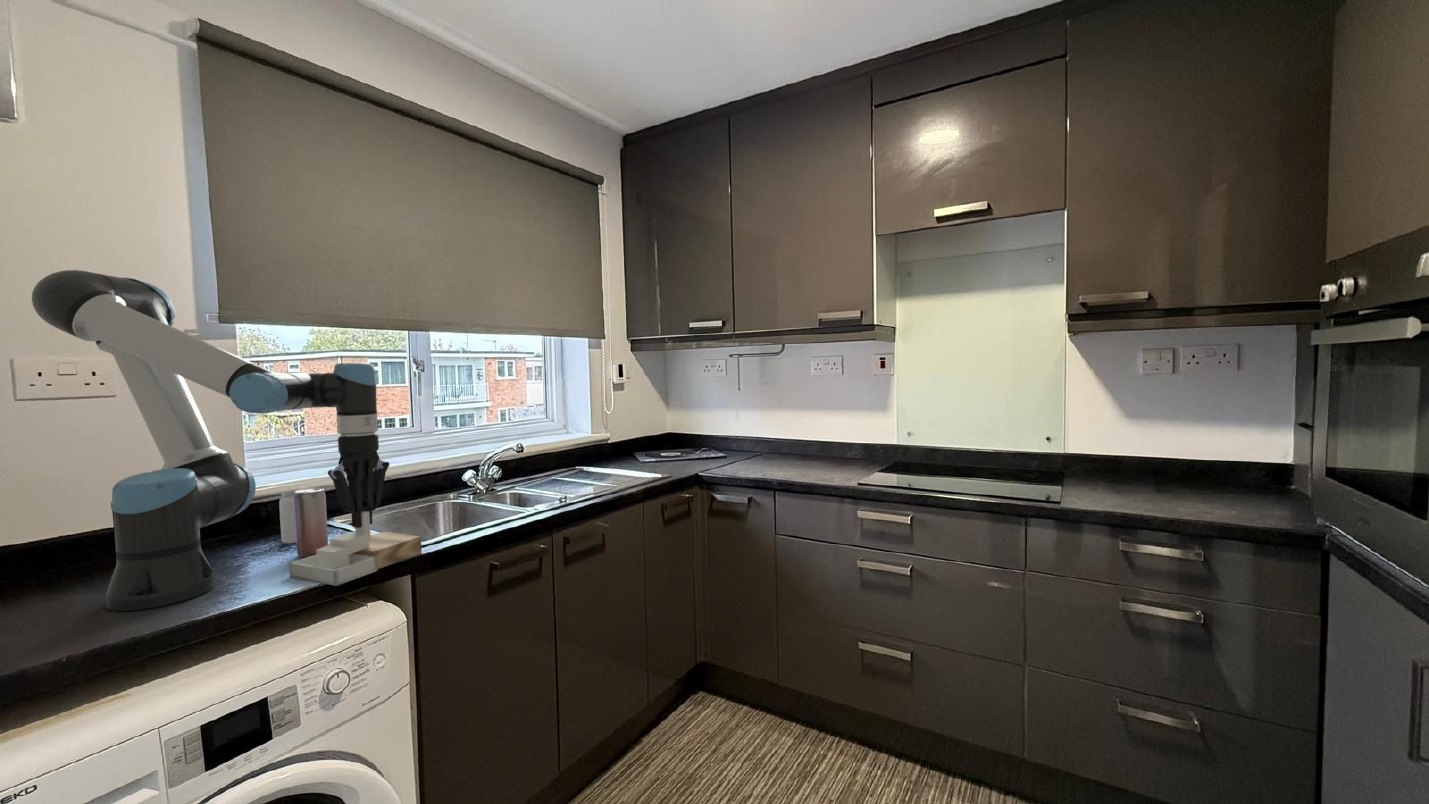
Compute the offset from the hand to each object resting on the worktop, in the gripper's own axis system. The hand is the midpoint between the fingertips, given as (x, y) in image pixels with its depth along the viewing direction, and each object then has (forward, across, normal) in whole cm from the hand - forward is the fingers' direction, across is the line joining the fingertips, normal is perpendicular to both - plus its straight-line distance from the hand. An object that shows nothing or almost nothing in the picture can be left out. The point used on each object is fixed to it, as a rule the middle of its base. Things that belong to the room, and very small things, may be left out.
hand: (363, 540), depth 128 cm
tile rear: (+1, -3, 0) cm, 3 cm away
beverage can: (+5, +1, +18) cm, 19 cm away
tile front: (+2, -6, 0) cm, 6 cm away
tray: (+5, -7, 0) cm, 9 cm away
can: (+5, +7, +33) cm, 34 cm away
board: (+5, +4, 0) cm, 6 cm away
